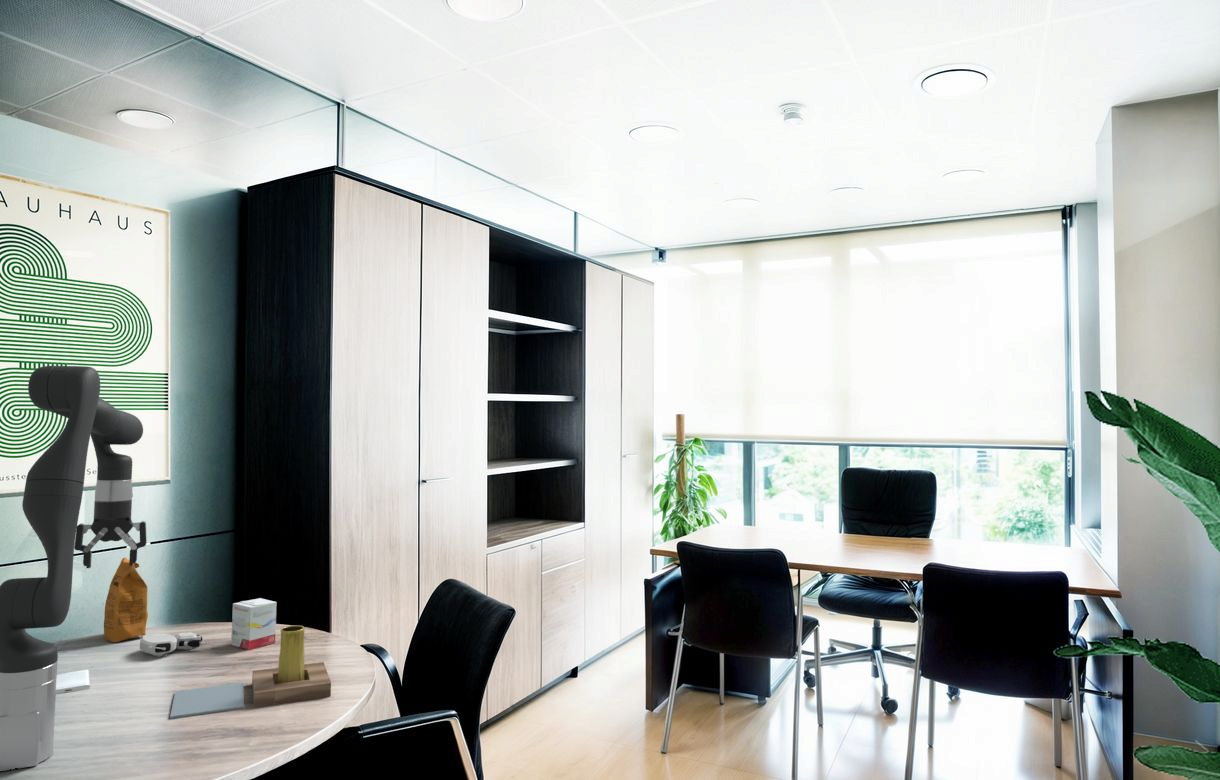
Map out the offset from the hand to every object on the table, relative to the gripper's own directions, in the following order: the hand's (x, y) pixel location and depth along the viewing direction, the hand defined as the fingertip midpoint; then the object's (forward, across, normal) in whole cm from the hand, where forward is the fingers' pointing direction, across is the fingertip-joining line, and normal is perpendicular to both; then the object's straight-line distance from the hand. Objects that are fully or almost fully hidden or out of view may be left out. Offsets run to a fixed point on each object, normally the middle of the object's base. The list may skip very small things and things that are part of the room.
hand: (110, 566), depth 178 cm
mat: (+28, +22, -22) cm, 42 cm away
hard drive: (+28, -8, +3) cm, 29 cm away
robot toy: (+28, +13, +22) cm, 38 cm away
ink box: (+28, +33, +19) cm, 47 cm away
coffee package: (+27, 0, +42) cm, 50 cm away
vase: (+28, +39, -23) cm, 53 cm away
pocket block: (+28, +39, -23) cm, 53 cm away
